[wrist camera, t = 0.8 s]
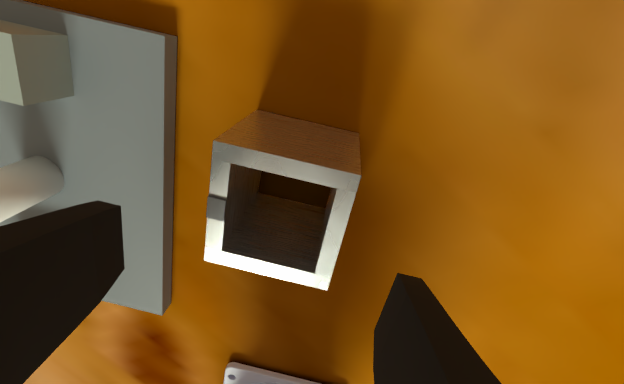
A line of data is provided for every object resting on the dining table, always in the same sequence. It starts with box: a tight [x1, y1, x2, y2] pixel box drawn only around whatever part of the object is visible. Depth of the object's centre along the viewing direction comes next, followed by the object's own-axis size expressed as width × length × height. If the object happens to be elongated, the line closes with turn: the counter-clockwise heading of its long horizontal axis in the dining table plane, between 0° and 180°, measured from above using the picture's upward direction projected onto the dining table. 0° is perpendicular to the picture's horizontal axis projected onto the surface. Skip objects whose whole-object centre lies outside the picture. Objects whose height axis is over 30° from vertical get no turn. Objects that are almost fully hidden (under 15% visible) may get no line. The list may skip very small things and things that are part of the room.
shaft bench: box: [0, 0, 177, 315], centre depth 15 cm, size 15×12×4 cm
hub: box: [204, 109, 361, 290], centre depth 13 cm, size 5×5×5 cm
